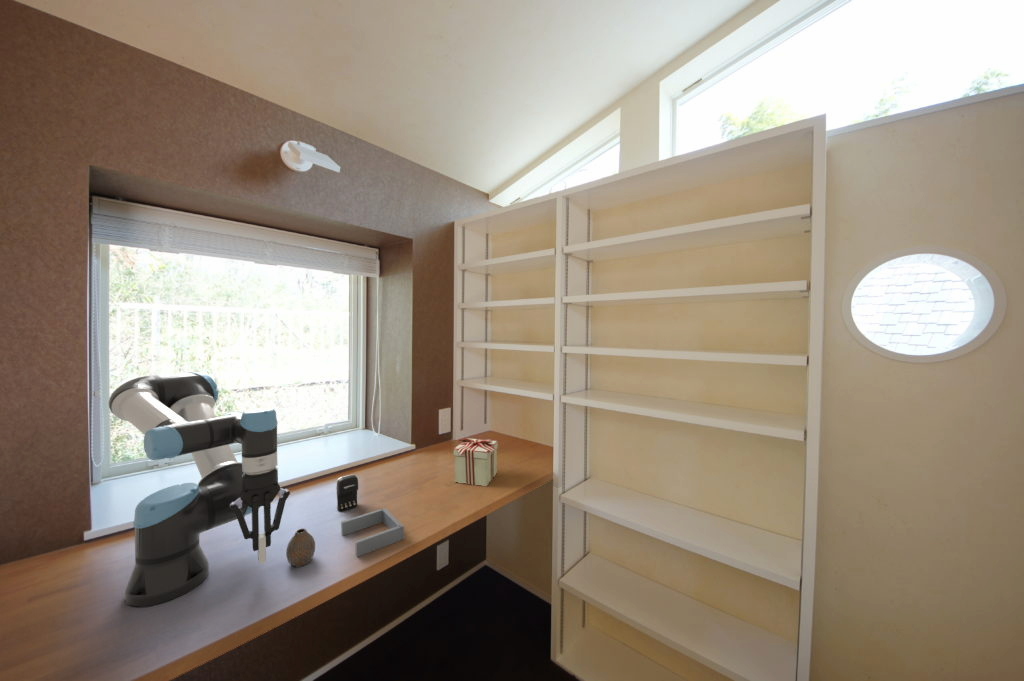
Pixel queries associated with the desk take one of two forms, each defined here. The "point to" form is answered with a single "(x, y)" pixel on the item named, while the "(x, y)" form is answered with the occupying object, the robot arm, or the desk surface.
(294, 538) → the vase
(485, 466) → the gift box
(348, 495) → the battery charger
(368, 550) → the box
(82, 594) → the desk surface
